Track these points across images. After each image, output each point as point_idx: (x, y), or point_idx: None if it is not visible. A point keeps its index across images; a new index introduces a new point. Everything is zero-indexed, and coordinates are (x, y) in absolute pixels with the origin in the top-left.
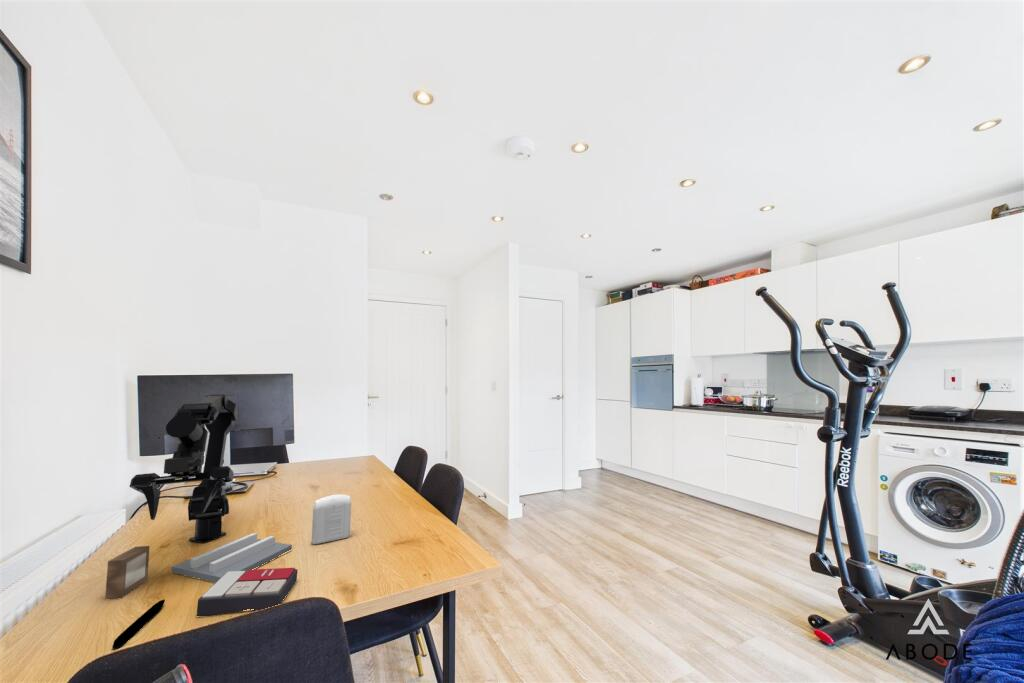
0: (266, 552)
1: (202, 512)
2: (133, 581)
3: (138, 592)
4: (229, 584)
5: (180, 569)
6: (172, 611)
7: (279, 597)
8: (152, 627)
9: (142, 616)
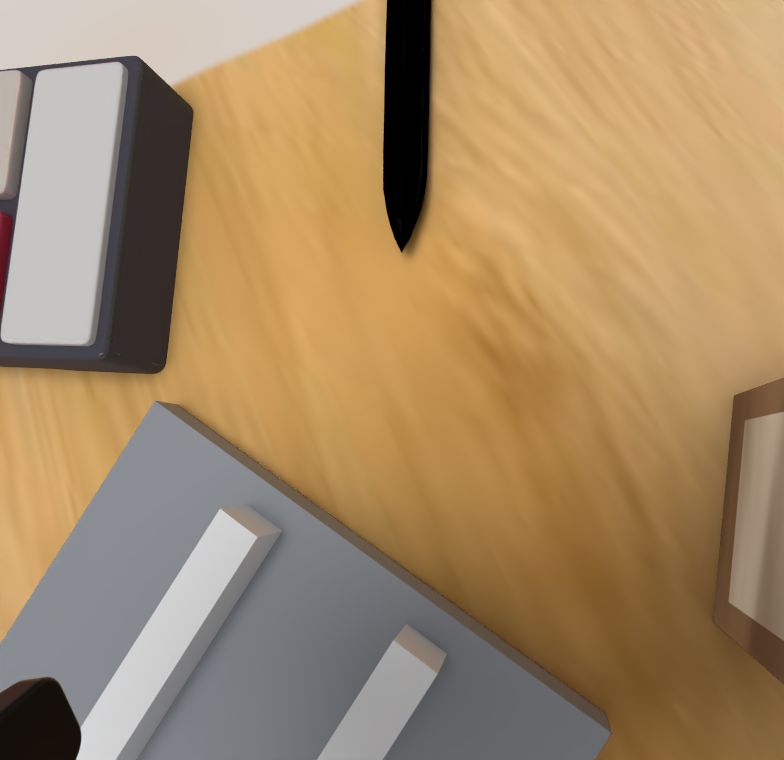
0: None
1: (35, 679)
2: (741, 490)
3: (665, 455)
4: (34, 178)
5: (516, 662)
6: (326, 178)
7: None
8: (347, 53)
9: (410, 70)
